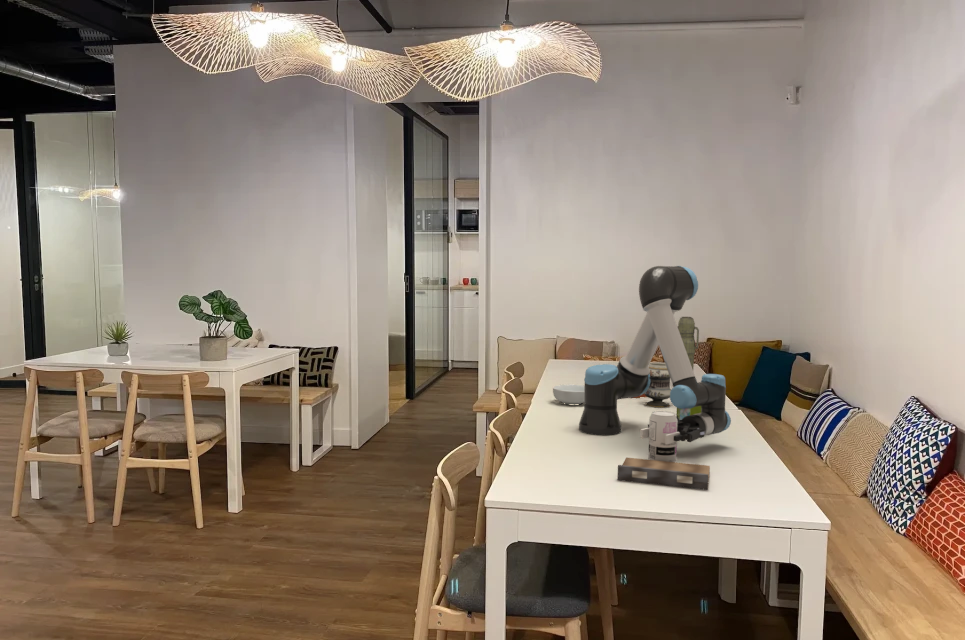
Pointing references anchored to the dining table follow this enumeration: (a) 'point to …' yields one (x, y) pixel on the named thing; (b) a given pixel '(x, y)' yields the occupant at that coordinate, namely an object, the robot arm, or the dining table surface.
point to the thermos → (688, 336)
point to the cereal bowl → (569, 393)
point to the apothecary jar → (658, 385)
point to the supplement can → (662, 436)
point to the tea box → (687, 412)
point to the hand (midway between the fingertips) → (653, 436)
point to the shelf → (664, 473)
